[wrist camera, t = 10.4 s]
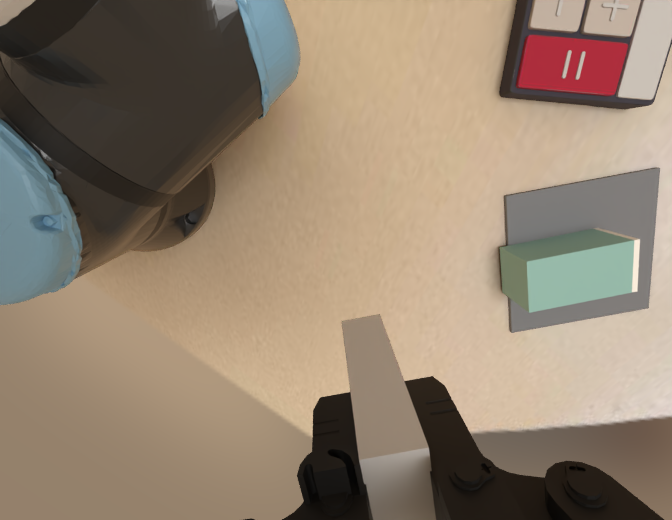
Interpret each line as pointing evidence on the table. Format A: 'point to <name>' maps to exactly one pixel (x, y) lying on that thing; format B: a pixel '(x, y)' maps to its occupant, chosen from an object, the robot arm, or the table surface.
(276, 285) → the table surface
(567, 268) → the block
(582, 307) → the mat
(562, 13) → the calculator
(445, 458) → the robot arm
